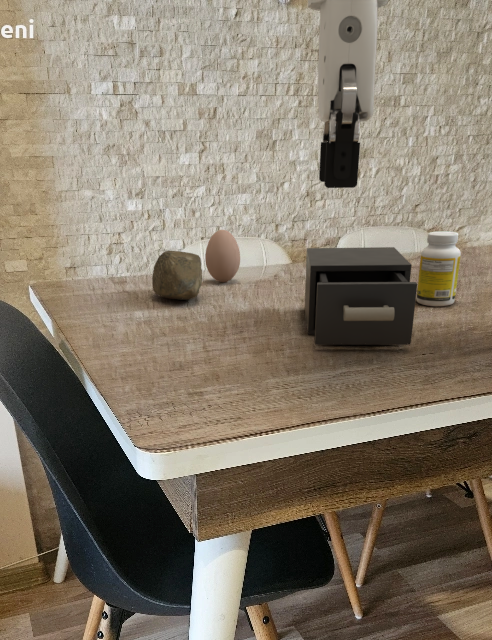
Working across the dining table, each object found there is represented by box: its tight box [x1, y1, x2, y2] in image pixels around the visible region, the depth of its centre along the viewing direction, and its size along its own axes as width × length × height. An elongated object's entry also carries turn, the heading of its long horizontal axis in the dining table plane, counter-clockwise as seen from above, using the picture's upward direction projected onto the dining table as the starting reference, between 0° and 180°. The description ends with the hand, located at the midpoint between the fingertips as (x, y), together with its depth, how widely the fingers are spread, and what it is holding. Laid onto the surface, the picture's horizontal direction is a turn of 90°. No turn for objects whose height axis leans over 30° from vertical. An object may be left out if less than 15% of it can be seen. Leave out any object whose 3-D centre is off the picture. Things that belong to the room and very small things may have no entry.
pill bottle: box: [416, 230, 462, 307], centre depth 109 cm, size 6×6×11 cm
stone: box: [151, 250, 203, 301], centre depth 117 cm, size 17×9×8 cm, turn 20°
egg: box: [204, 229, 241, 283], centre depth 129 cm, size 7×7×10 cm
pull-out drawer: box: [314, 271, 418, 346], centre depth 90 cm, size 19×12×8 cm, turn 175°
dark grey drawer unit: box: [304, 246, 413, 336], centre depth 99 cm, size 16×14×10 cm
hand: (336, 184), depth 71 cm, fingers open, 9 cm apart
